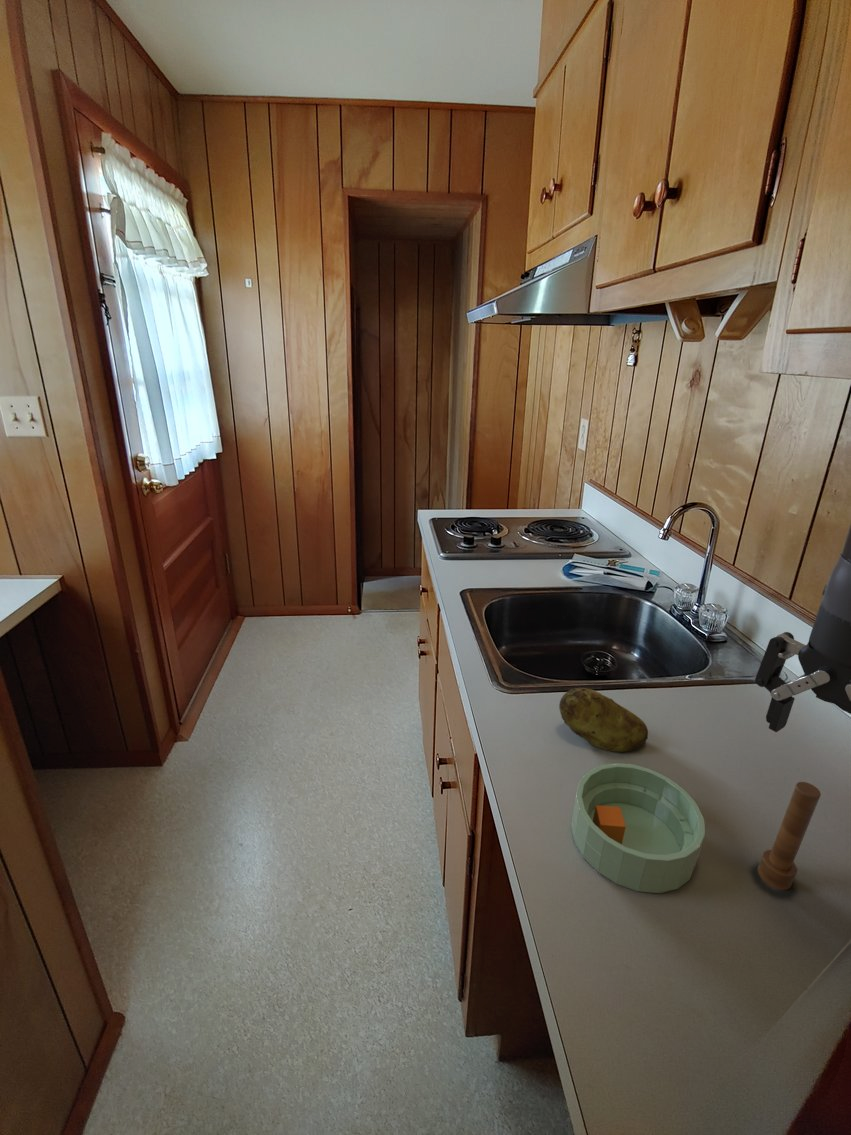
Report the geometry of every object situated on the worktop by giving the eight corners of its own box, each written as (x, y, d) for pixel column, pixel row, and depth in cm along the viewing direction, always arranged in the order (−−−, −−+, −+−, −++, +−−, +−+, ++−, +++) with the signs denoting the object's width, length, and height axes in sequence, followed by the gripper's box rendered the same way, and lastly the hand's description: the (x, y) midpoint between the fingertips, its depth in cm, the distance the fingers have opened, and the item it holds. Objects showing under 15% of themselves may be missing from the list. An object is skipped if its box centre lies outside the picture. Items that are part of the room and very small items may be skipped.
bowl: (622, 782, 77) (629, 749, 75) (719, 860, 66) (731, 824, 64) (546, 826, 70) (552, 790, 68) (640, 921, 59) (650, 883, 57)
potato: (633, 774, 79) (643, 729, 76) (549, 738, 85) (555, 696, 82) (648, 742, 85) (658, 699, 82) (568, 711, 92) (574, 670, 88)
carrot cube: (592, 822, 70) (595, 804, 69) (616, 824, 70) (620, 807, 68) (596, 842, 67) (600, 824, 66) (621, 844, 67) (625, 826, 66)
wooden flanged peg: (768, 863, 66) (802, 773, 60) (796, 887, 63) (835, 795, 57) (749, 873, 64) (782, 782, 59) (776, 899, 62) (814, 806, 56)
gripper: (993, 632, 45) (921, 783, 52) (808, 572, 56) (768, 702, 63) (959, 658, 42) (886, 816, 48) (768, 589, 53) (730, 725, 59)
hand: (819, 751), depth 55 cm, fingers open, 8 cm apart
